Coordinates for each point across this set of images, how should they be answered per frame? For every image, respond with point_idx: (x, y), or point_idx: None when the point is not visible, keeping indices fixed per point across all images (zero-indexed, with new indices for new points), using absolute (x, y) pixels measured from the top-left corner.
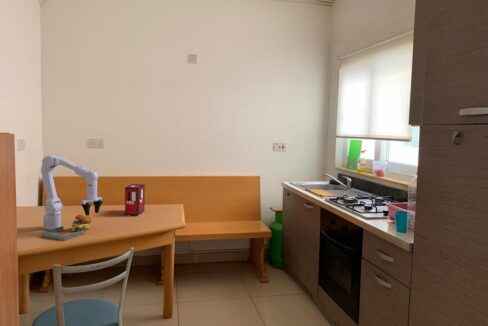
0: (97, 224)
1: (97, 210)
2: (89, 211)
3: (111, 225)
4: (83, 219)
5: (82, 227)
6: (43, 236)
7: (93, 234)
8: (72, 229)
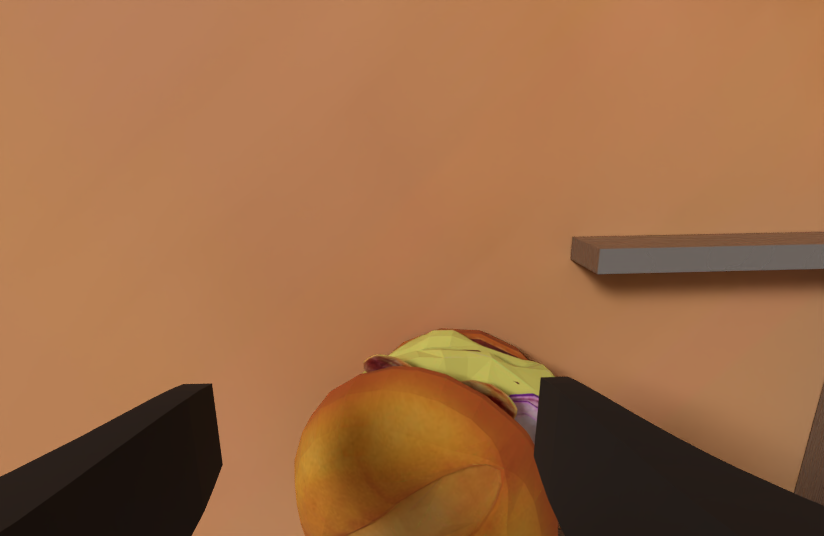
0: None
1: (173, 438)
2: (608, 427)
3: (65, 219)
4: (515, 440)
5: (515, 358)
6: None
7: (551, 114)
8: None
